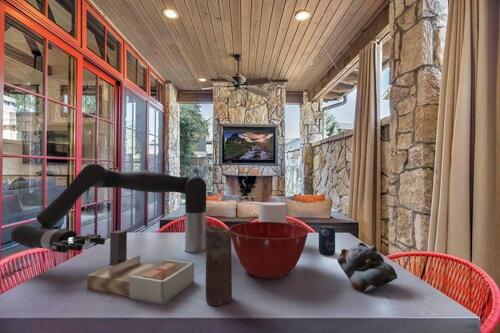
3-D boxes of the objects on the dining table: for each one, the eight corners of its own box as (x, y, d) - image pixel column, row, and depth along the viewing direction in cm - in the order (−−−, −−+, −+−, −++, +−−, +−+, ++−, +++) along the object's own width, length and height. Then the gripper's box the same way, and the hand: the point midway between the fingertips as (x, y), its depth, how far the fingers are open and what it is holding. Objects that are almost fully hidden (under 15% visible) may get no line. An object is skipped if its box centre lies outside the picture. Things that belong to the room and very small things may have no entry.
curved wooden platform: (87, 287, 80) (87, 274, 80) (123, 271, 93) (123, 260, 93) (131, 296, 74) (131, 282, 74) (163, 277, 88) (163, 265, 88)
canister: (268, 239, 138) (268, 201, 139) (291, 243, 131) (290, 203, 131) (253, 244, 128) (253, 203, 128) (277, 249, 120) (277, 205, 120)
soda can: (329, 257, 108) (329, 228, 109) (315, 253, 114) (315, 226, 114) (338, 254, 113) (338, 226, 113) (324, 250, 118) (324, 224, 118)
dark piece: (98, 274, 80) (98, 235, 80) (128, 262, 91) (128, 227, 91) (111, 277, 78) (111, 237, 78) (140, 263, 90) (140, 228, 90)
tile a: (157, 268, 81) (165, 269, 80) (167, 263, 85) (175, 264, 84) (157, 284, 80) (165, 286, 79) (167, 278, 85) (175, 279, 84)
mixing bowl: (265, 253, 114) (265, 218, 114) (324, 271, 93) (324, 228, 94) (212, 270, 94) (213, 227, 94) (273, 298, 74) (273, 243, 74)
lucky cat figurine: (355, 295, 75) (336, 247, 81) (347, 294, 86) (330, 251, 92) (405, 280, 75) (383, 233, 81) (391, 281, 86) (371, 239, 92)
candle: (206, 293, 76) (206, 225, 77) (231, 292, 77) (231, 224, 77) (204, 307, 69) (204, 231, 69) (232, 306, 69) (232, 230, 70)
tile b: (142, 275, 75) (150, 277, 74) (154, 269, 80) (162, 270, 79) (141, 293, 75) (150, 294, 74) (153, 286, 80) (161, 287, 79)
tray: (129, 297, 74) (129, 276, 74) (164, 276, 88) (164, 259, 89) (162, 304, 70) (163, 282, 70) (193, 281, 85) (193, 262, 85)
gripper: (38, 234, 87) (73, 238, 82) (78, 225, 101) (110, 229, 95) (37, 256, 87) (72, 262, 82) (78, 245, 101) (110, 249, 95)
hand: (93, 244), depth 89 cm, fingers open, 8 cm apart
